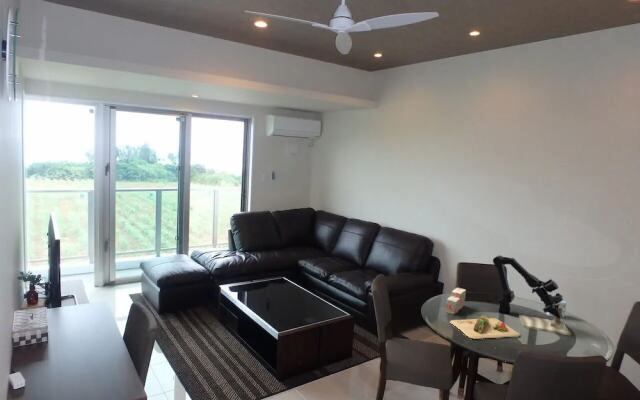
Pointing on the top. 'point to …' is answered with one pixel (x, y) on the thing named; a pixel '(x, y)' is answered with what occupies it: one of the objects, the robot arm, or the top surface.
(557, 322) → the block
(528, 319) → the plywood board
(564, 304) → the light bulb box
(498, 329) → the cutting board
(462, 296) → the stack of blocks
